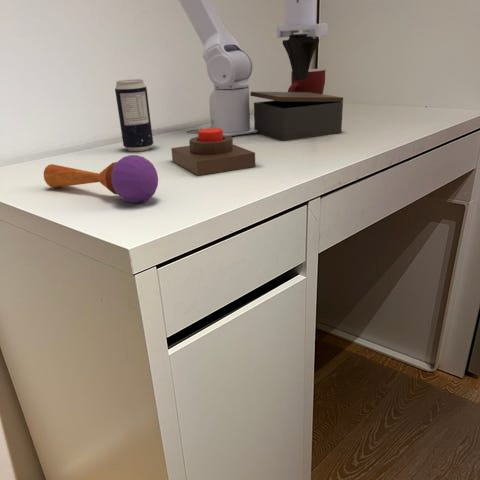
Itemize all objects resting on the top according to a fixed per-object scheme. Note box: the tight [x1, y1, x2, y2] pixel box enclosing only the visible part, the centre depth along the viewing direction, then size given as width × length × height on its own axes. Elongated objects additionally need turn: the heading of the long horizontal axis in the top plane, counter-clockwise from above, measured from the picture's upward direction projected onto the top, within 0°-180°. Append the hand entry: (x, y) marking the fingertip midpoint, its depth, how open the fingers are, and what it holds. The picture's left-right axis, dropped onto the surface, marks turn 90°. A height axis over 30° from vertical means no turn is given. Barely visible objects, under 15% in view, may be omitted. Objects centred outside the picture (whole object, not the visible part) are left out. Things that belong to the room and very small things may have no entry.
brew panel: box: [170, 135, 256, 176], centre depth 84 cm, size 12×10×4 cm
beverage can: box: [114, 78, 154, 152], centre depth 95 cm, size 6×6×12 cm
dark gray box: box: [253, 100, 344, 142], centre depth 105 cm, size 14×13×6 cm
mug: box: [287, 68, 326, 95], centre depth 123 cm, size 11×8×10 cm
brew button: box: [197, 127, 223, 142], centre depth 82 cm, size 4×4×2 cm
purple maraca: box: [43, 154, 159, 204], centre depth 70 cm, size 6×6×20 cm
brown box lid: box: [249, 91, 344, 103], centre depth 103 cm, size 14×13×1 cm
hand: (300, 79), depth 99 cm, fingers closed
